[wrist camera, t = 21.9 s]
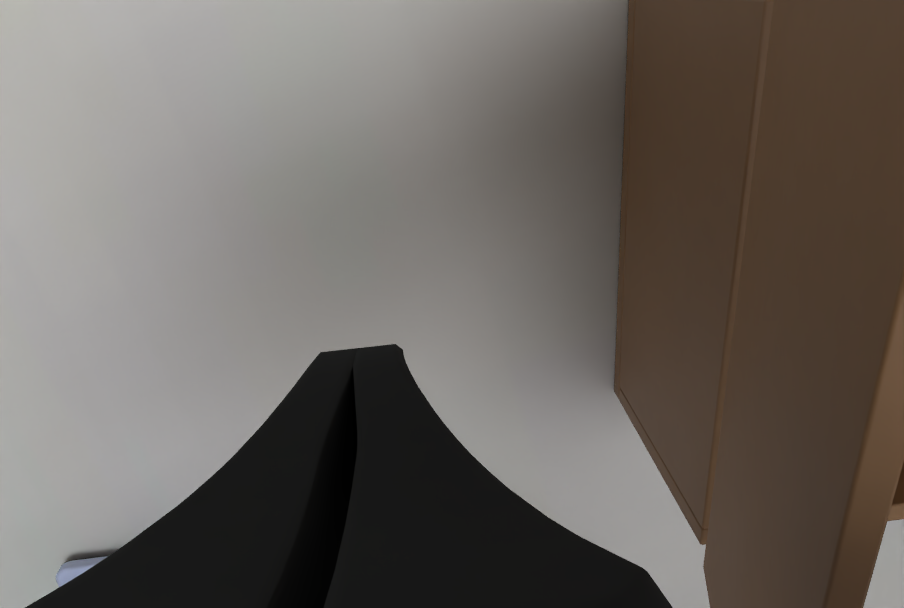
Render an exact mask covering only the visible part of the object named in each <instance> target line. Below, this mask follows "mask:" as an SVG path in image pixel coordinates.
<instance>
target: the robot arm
mask: <svg viewBox="0 0 904 608" xmlns="http://www.w3.org/2000/svg"><path fill="white" fill-rule="evenodd" d="M56 581H57V583H58V586H59V588H58V589H56V590H54V591H53V592H51V593H49V594H48V595H46V596H44V597H43V598H41V599H39V600H37V601H36V602H34V603H32V604H31V605H29V606H27V607H25V608H672V606H671V605H670V603H669V602H668V600H667V599H666V598H665V596H664V595H663V593H662V592H661V590H660V589H659V587H658V586H657V585H656V583H655V582H654V580H653V579H652V578H651V576H650V575H649V574H648V572H647V571H646V570H645V569H643V568H642V567H640V566H638V565H636V564H634V563H632V562H629V561H627V560H625V559H623V558H621V557H619V556H617V555H615V554H613V553H611V552H609V551H607V550H605V549H603V548H601V547H599V546H597V545H595V544H593V543H591V542H589V541H587V540H585V539H583V538H581V537H580V536H578V535H576V534H574V533H573V532H571V531H569V530H568V529H566V528H564V527H563V526H561V525H560V524H558V523H556V522H555V521H553V520H551V519H550V518H548V517H547V516H545V515H544V514H543V513H541V512H540V511H538V510H537V509H536V508H534V507H533V506H532V505H530V504H529V503H528V502H526V501H525V500H523V499H522V498H521V497H519V496H518V495H517V494H515V493H514V492H513V491H511V490H510V489H509V488H507V487H506V486H505V485H504V484H503V483H502V482H500V481H499V480H498V479H497V478H496V477H495V476H494V475H492V474H491V473H490V472H489V471H488V470H487V469H486V468H485V467H484V466H483V465H482V464H481V463H480V462H479V461H477V460H476V459H475V458H474V457H473V456H472V455H471V454H470V453H469V452H468V450H467V449H466V448H465V447H464V446H463V445H462V444H461V443H460V442H459V441H458V440H457V438H456V437H455V436H454V435H453V434H452V433H451V431H450V430H449V429H448V428H447V427H446V425H445V424H444V423H443V422H442V420H441V419H440V418H439V416H438V415H437V414H436V412H435V411H434V410H433V408H432V407H431V405H430V404H429V402H428V401H427V399H426V398H425V396H424V395H423V393H422V392H421V390H420V389H419V387H418V385H417V384H416V382H415V380H414V378H413V376H412V375H411V373H410V371H409V369H408V366H407V364H406V362H405V359H404V355H403V350H402V349H401V348H400V347H398V346H397V345H396V344H392V345H383V346H374V347H365V348H356V349H347V350H338V351H329V352H320V354H319V355H318V356H317V357H316V358H315V359H314V361H313V362H312V363H311V364H310V366H309V367H308V368H307V370H306V371H305V372H304V374H303V375H302V376H301V378H300V379H299V380H298V382H297V383H296V384H295V385H294V387H293V388H292V389H291V391H290V392H289V393H288V394H287V396H286V397H285V398H284V399H283V401H282V402H281V403H280V404H279V406H278V407H277V408H276V409H275V410H274V412H273V413H272V414H271V415H270V416H269V418H268V419H267V420H266V421H265V422H264V424H263V425H262V426H261V427H260V428H259V429H258V430H257V431H256V432H255V434H254V435H253V436H252V437H251V438H250V439H249V440H248V441H247V442H246V443H245V444H244V445H243V446H242V448H241V449H240V450H239V451H238V452H237V453H236V454H235V455H234V456H233V457H232V458H231V459H230V460H229V461H228V462H227V463H226V464H225V465H224V466H223V467H222V468H221V469H219V470H218V471H217V472H216V473H215V474H214V475H213V476H212V477H211V478H210V479H208V480H207V481H206V482H205V483H204V484H203V485H202V486H200V487H199V488H198V489H197V490H196V491H195V492H194V493H192V494H191V495H190V496H189V497H188V498H187V499H185V500H184V501H183V502H182V503H180V504H179V505H178V506H177V507H175V508H174V509H173V510H171V511H170V512H169V513H167V514H166V515H165V516H163V517H162V518H161V519H159V520H158V521H157V522H155V523H154V524H153V525H151V526H150V527H149V528H147V529H146V530H145V531H143V532H142V533H141V534H139V535H138V536H136V537H135V538H134V539H132V540H131V541H130V542H128V543H127V544H126V545H124V546H123V547H121V548H120V549H119V550H117V551H116V552H114V553H113V554H111V555H110V556H105V557H97V558H89V559H81V560H73V561H68V562H65V563H64V564H62V565H61V567H60V569H59V571H58V572H57V575H56Z"/></svg>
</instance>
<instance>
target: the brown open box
mask: <svg viewBox="0 0 904 608" xmlns="http://www.w3.org/2000/svg"><path fill="white" fill-rule="evenodd" d="M773 3H774V0H629V12H628V38H627V65H626V91H625V117H624V144H623V170H622V196H621V223H620V249H619V276H618V302H617V328H616V355H615V381H614V392H615V393H616V395H617V397H618V399H619V400H620V402H621V404H622V406H623V408H624V409H625V411H626V413H627V415H628V417H629V418H630V420H631V422H632V424H633V425H634V427H635V429H636V431H637V432H638V434H639V436H640V438H641V440H642V441H643V443H644V445H645V447H646V448H647V450H648V452H649V454H650V456H651V457H652V459H653V461H654V463H655V464H656V466H657V468H658V470H659V472H660V473H661V475H662V477H663V479H664V480H665V482H666V484H667V486H668V488H669V489H670V491H671V493H672V495H673V496H674V498H675V500H676V502H677V503H678V505H679V507H680V509H681V511H682V512H683V514H684V516H685V518H686V519H687V521H688V523H689V525H690V527H691V528H692V530H693V532H694V534H695V535H696V537H697V539H698V541H699V543H700V544H702V545H704V544H706V542H707V534H708V526H709V518H710V510H711V502H712V494H713V486H714V478H715V470H716V462H717V454H718V446H719V437H720V429H721V421H722V413H723V405H724V397H725V389H726V381H727V373H728V365H729V357H730V349H731V341H732V333H733V325H734V317H735V309H736V301H737V293H738V285H739V277H740V269H741V261H742V253H743V245H744V236H745V228H746V220H747V212H748V204H749V196H750V188H751V180H752V172H753V164H754V156H755V148H756V140H757V132H758V124H759V116H760V108H761V100H762V92H763V84H764V76H765V68H766V60H767V52H768V43H769V35H770V27H771V19H772V11H773ZM900 519H904V462H903V466H902V470H901V473H900V477H899V480H898V484H897V487H896V491H895V495H894V498H893V502H892V505H891V509H890V513H889V516H888V520H887V521H892V520H900Z"/></svg>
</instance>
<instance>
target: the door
mask: <svg viewBox="0 0 904 608" xmlns="http://www.w3.org/2000/svg"><path fill="white" fill-rule="evenodd" d="M903 462H904V0H774V3H773V11H772V19H771V27H770V35H769V43H768V52H767V60H766V68H765V76H764V84H763V92H762V100H761V108H760V116H759V124H758V132H757V140H756V148H755V156H754V164H753V172H752V180H751V188H750V196H749V204H748V212H747V220H746V228H745V236H744V245H743V253H742V261H741V269H740V277H739V285H738V293H737V301H736V309H735V317H734V325H733V333H732V341H731V349H730V357H729V365H728V373H727V381H726V389H725V397H724V405H723V413H722V421H721V429H720V437H719V446H718V454H717V462H716V470H715V478H714V486H713V494H712V502H711V510H710V518H709V526H708V534H707V542H706V550H705V558H704V566H703V567H704V573H705V579H706V585H707V591H708V597H709V603H710V608H863V606H864V602H865V599H866V595H867V592H868V588H869V584H870V581H871V577H872V574H873V570H874V566H875V563H876V559H877V556H878V552H879V549H880V545H881V541H882V538H883V534H884V531H885V527H886V523H887V520H888V516H889V513H890V509H891V505H892V502H893V498H894V495H895V491H896V487H897V484H898V480H899V477H900V473H901V470H902V466H903Z"/></svg>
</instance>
